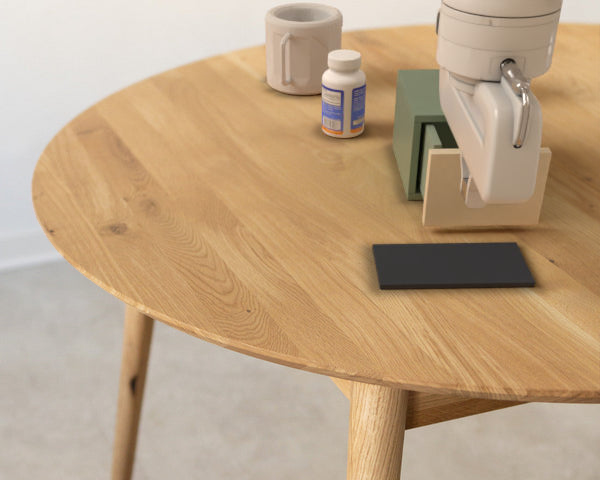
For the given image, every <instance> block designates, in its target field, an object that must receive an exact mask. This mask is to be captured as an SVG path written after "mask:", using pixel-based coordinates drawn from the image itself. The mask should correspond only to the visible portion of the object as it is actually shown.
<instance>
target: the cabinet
mask: <svg viewBox="0 0 600 480" xmlns="http://www.w3.org/2000/svg"><path fill="white" fill-rule="evenodd" d="M439 71H440V68H435V69H434V68H431V69H429V68H428V69H426V68H425V69H417V68H416V69H397V77H396V88H395V90H396V91H395V101H394V102H395V104H394V119H393V131H392V132H393V133H392V147H391V148H392V150H393V155H394V158H395V161H396V165H397V168H398V172H399V175H400V178H401V182H402V186H403V189H404V193H405V196H406V200H407V201H424V200H423V197H422V193H421V190H420V187H419V184H418V181H417V167H418V157H419V146H420V135H421V124H422V123H421V122H447V120H446V118H445V115H444V113H443V111H442V109H441V104H440V95H439Z"/></svg>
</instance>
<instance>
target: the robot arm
mask: <svg viewBox="0 0 600 480" xmlns="http://www.w3.org/2000/svg"><path fill="white" fill-rule="evenodd" d="M563 3H564V0H440V8H438V9H437V11H436V16H435V17H436V18H435V33H436V36H437V37H436V38H437V39H436V49H435V50H436V51H435V62H436V63H437V65H438V66H439V69H440V71H439V95H440V104H441V109H442V111H443V113H444V115H445V118H446V120H447V122H448V124H449V127H450V129H451V131H452V133H453V136H454V138H455V140H456V142H457V144H458V147H459V149H460V161H461V174H462V176H461V184H460V191H461V194H462V196H463V198H464V200H465V204H466V206H467V207H468V208H469V209H482V208H484V207H486V205H487V204H497V205H509V204H524V203H526V202H528V200H529V199H530V198H531V196H532V194H533V192H534V189H535V183H536V177H537V170H538V163H539V155H540V148H542V147H541V145H542V140H543V139H542V136H543V125H544V123H543V121H544V119H543V109H542V106H541V103H540V101H539V99H538V98H537V97H536V95H535V94H534V92H533V91H532V89H531V85H532V80H533V79H535V78H539V77H541V76H543V75H545V74H547V73H548V72H549V70H550V69H551V67H552V61H553V56H554V50H555V45H556V40H557V34H558V29H559V23H560V18H561V12H562V6H563Z"/></svg>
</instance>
